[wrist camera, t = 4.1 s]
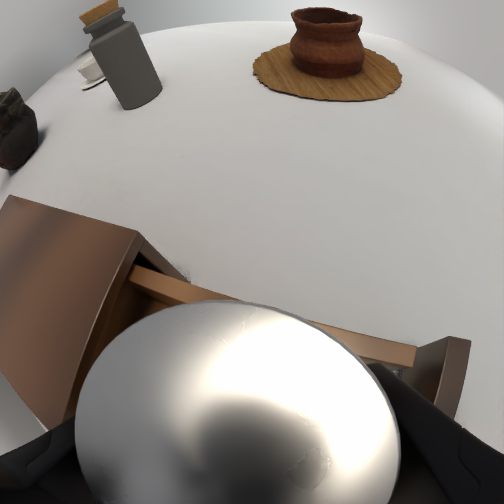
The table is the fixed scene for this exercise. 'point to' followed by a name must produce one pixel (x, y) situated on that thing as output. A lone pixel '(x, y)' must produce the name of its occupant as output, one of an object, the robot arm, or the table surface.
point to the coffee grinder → (16, 130)
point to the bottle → (121, 55)
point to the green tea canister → (234, 413)
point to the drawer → (366, 347)
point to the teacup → (90, 72)
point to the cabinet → (60, 298)
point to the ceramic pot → (327, 60)
